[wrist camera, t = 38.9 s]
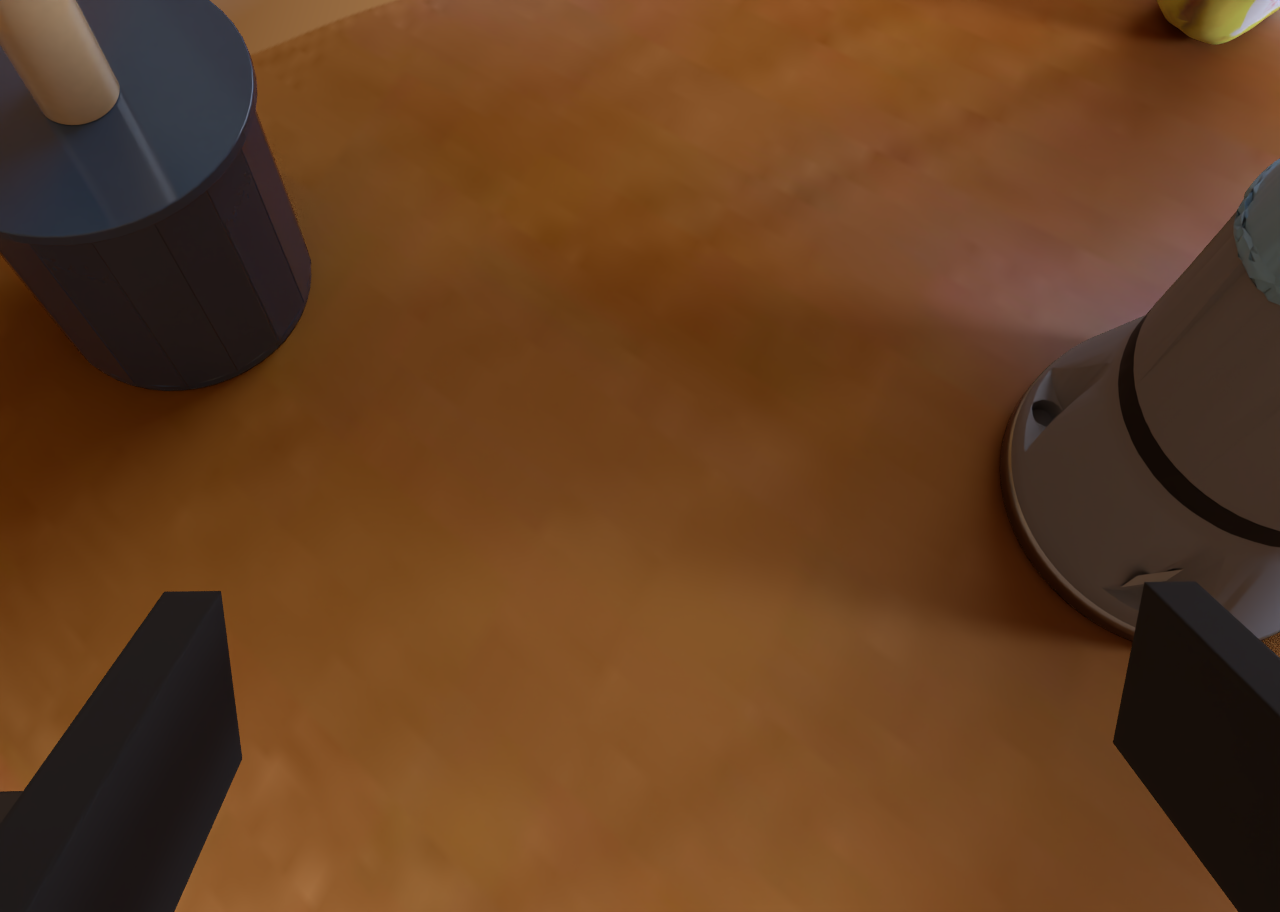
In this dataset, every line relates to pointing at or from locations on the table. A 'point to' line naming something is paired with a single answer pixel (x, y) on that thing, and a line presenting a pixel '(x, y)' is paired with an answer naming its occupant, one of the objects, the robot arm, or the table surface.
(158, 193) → the lid
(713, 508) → the table surface
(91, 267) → the dark blue cylinder
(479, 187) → the table surface
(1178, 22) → the bottle
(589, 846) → the table surface
